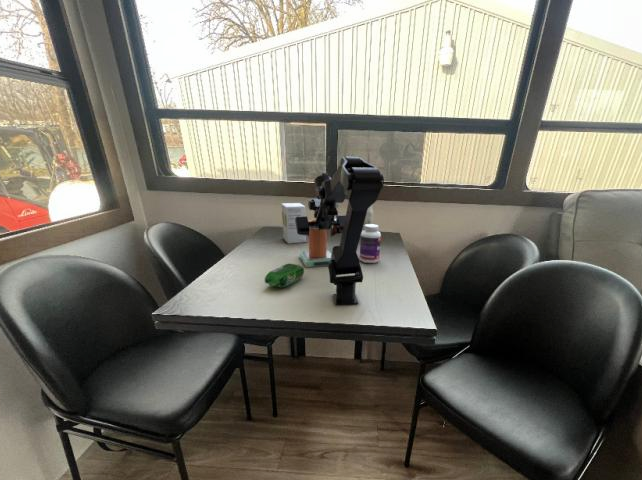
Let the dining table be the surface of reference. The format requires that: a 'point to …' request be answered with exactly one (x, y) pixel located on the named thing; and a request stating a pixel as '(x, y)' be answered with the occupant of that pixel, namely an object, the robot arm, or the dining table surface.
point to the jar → (317, 242)
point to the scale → (315, 259)
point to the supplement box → (292, 222)
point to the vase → (369, 217)
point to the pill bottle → (370, 244)
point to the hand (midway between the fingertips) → (319, 236)
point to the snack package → (284, 275)
